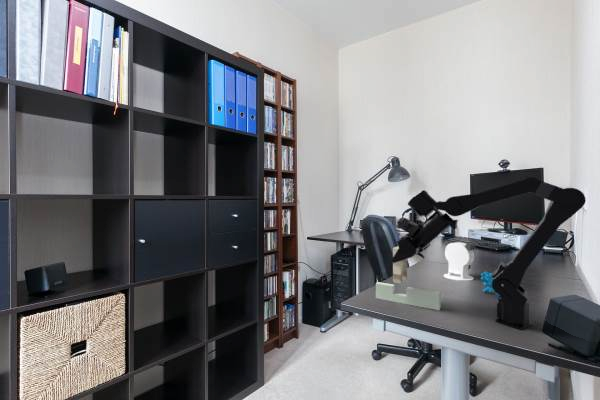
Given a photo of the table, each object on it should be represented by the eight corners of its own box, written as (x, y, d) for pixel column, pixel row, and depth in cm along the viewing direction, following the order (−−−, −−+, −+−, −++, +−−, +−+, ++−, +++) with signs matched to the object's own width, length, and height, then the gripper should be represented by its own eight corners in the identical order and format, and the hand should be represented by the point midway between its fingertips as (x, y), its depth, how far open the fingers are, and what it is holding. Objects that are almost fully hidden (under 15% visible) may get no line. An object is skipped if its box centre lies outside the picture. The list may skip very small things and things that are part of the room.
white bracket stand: (480, 278, 130) (480, 243, 130) (464, 282, 125) (464, 245, 125) (454, 272, 141) (454, 239, 141) (437, 276, 135) (437, 241, 135)
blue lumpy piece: (496, 295, 103) (478, 269, 110) (482, 304, 107) (466, 278, 113) (516, 295, 108) (498, 271, 114) (503, 304, 111) (486, 279, 118)
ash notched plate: (399, 277, 105) (399, 245, 105) (407, 278, 104) (407, 245, 104) (393, 282, 100) (393, 248, 100) (400, 283, 98) (400, 248, 98)
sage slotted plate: (440, 308, 96) (440, 292, 96) (439, 310, 94) (439, 293, 94) (377, 296, 107) (377, 282, 107) (375, 298, 106) (375, 283, 106)
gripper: (420, 208, 107) (388, 238, 113) (403, 210, 92) (368, 244, 98) (445, 232, 103) (411, 262, 109) (432, 239, 87) (393, 273, 94)
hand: (396, 259), depth 103 cm, fingers closed on ash notched plate, 7 cm apart
